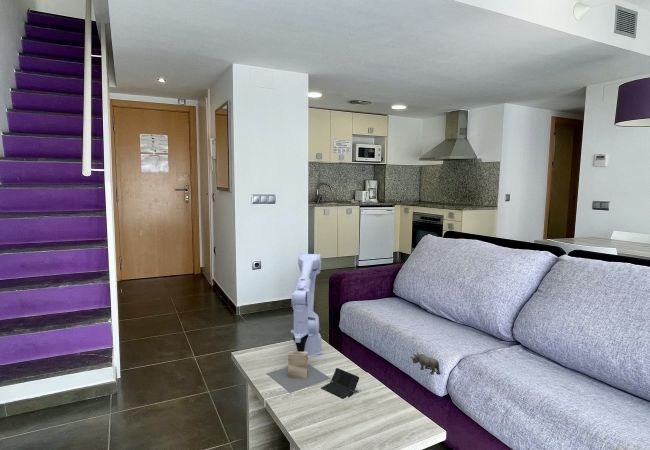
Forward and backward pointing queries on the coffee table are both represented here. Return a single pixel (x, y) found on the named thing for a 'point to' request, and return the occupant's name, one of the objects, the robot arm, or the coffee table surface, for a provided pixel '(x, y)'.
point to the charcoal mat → (297, 379)
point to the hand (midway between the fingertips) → (301, 353)
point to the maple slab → (297, 364)
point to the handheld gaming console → (342, 384)
